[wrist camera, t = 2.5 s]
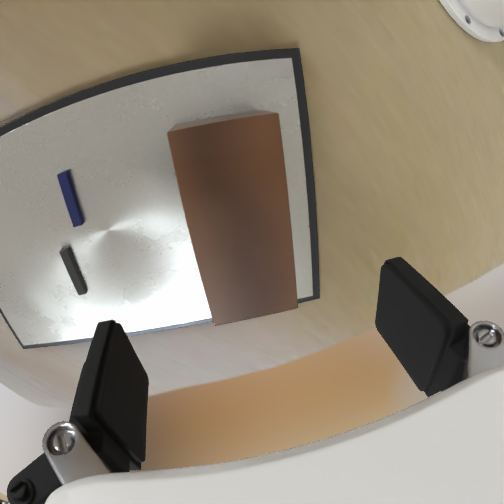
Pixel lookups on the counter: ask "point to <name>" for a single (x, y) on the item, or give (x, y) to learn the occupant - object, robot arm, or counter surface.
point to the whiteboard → (134, 197)
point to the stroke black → (73, 271)
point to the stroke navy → (70, 198)
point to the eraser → (237, 212)
